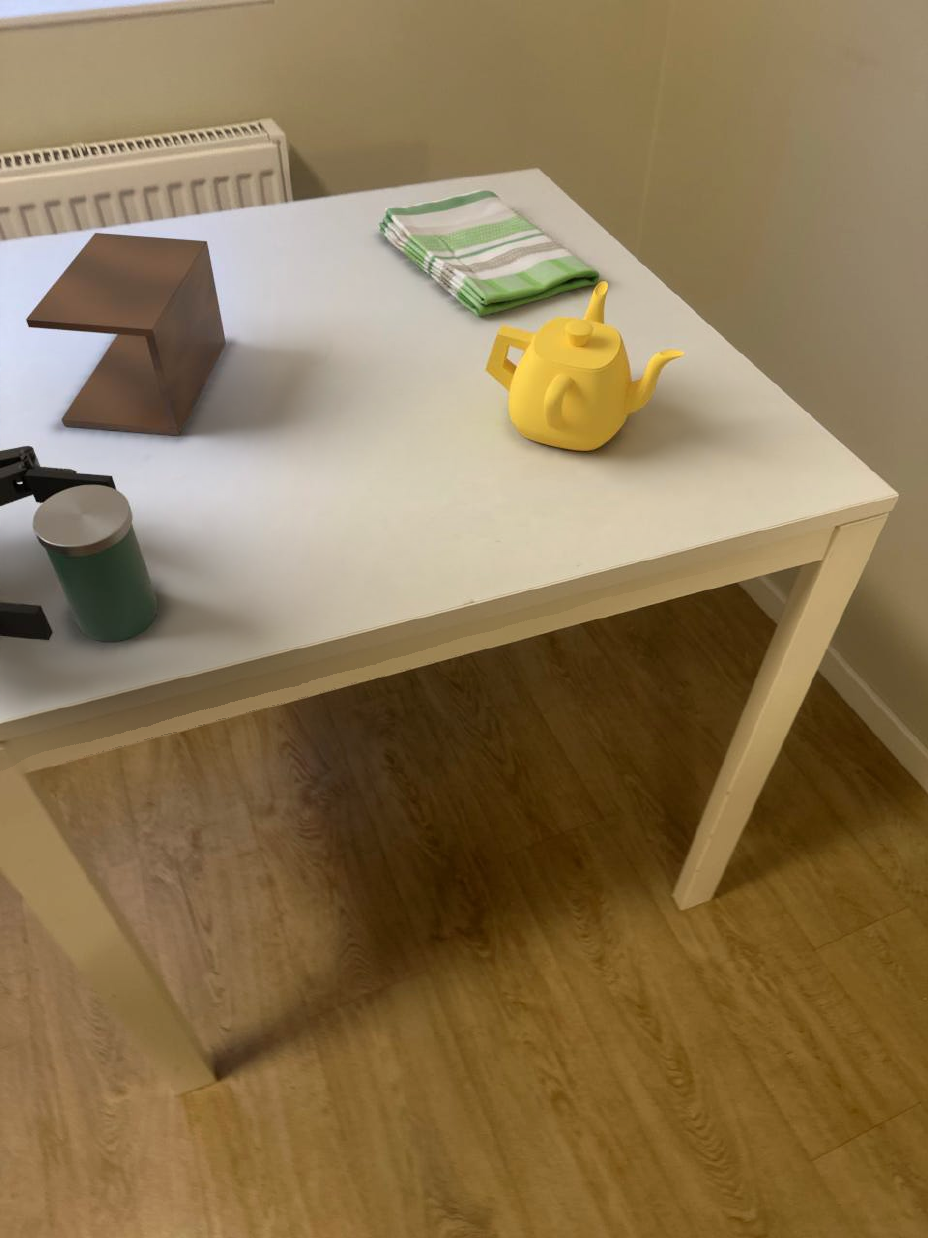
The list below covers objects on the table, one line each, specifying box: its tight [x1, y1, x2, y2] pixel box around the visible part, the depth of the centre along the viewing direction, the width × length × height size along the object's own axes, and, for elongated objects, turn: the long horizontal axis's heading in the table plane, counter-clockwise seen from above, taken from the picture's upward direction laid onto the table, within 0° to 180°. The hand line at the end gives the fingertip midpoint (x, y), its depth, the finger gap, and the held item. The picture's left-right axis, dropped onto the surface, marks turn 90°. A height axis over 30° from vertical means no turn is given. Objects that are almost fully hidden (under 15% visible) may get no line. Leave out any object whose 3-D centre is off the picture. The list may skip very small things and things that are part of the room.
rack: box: [25, 232, 227, 437], centre depth 88 cm, size 16×11×11 cm
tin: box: [32, 485, 159, 643], centre depth 68 cm, size 6×6×10 cm
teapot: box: [484, 280, 685, 452], centre depth 86 cm, size 14×13×10 cm
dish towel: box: [377, 189, 600, 317], centre depth 109 cm, size 17×23×4 cm
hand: (82, 553), depth 67 cm, fingers open, 13 cm apart
